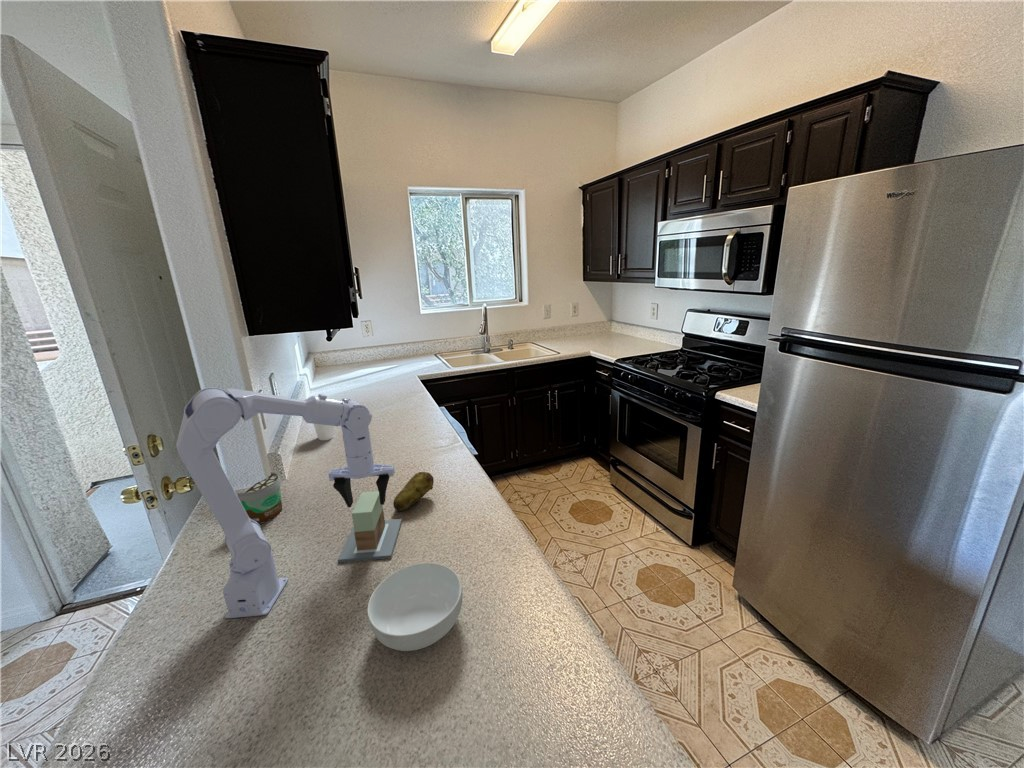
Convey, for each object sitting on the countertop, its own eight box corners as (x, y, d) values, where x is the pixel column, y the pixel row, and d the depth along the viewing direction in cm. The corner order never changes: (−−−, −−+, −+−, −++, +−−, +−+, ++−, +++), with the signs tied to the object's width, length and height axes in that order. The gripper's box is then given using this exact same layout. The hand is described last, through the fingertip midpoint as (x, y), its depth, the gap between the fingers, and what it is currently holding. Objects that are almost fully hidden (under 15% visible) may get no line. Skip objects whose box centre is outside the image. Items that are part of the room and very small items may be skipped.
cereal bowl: (426, 577, 86) (423, 550, 84) (482, 616, 76) (480, 586, 74) (354, 632, 73) (348, 602, 71) (409, 688, 63) (405, 654, 61)
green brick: (374, 530, 93) (371, 511, 91) (354, 532, 92) (351, 513, 91) (382, 508, 101) (380, 490, 100) (364, 509, 101) (361, 492, 99)
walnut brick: (376, 549, 94) (373, 531, 92) (357, 550, 93) (354, 532, 92) (385, 525, 102) (382, 508, 101) (367, 526, 102) (364, 510, 101)
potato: (387, 503, 114) (384, 478, 111) (429, 489, 121) (427, 465, 118) (397, 517, 107) (394, 491, 105) (441, 501, 114) (439, 476, 112)
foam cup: (314, 435, 164) (309, 405, 160) (338, 431, 168) (334, 401, 164) (314, 443, 156) (308, 412, 152) (339, 439, 159) (334, 408, 156)
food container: (263, 529, 104) (255, 496, 101) (244, 527, 105) (235, 494, 102) (297, 503, 115) (290, 472, 113) (279, 501, 117) (272, 470, 114)
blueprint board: (391, 558, 92) (390, 555, 92) (338, 562, 91) (337, 559, 91) (402, 521, 105) (401, 518, 105) (355, 525, 104) (355, 522, 104)
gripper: (394, 442, 96) (400, 492, 100) (332, 446, 95) (341, 496, 98) (388, 455, 89) (395, 508, 93) (321, 460, 88) (331, 513, 92)
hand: (366, 503), depth 95 cm, fingers open, 7 cm apart
